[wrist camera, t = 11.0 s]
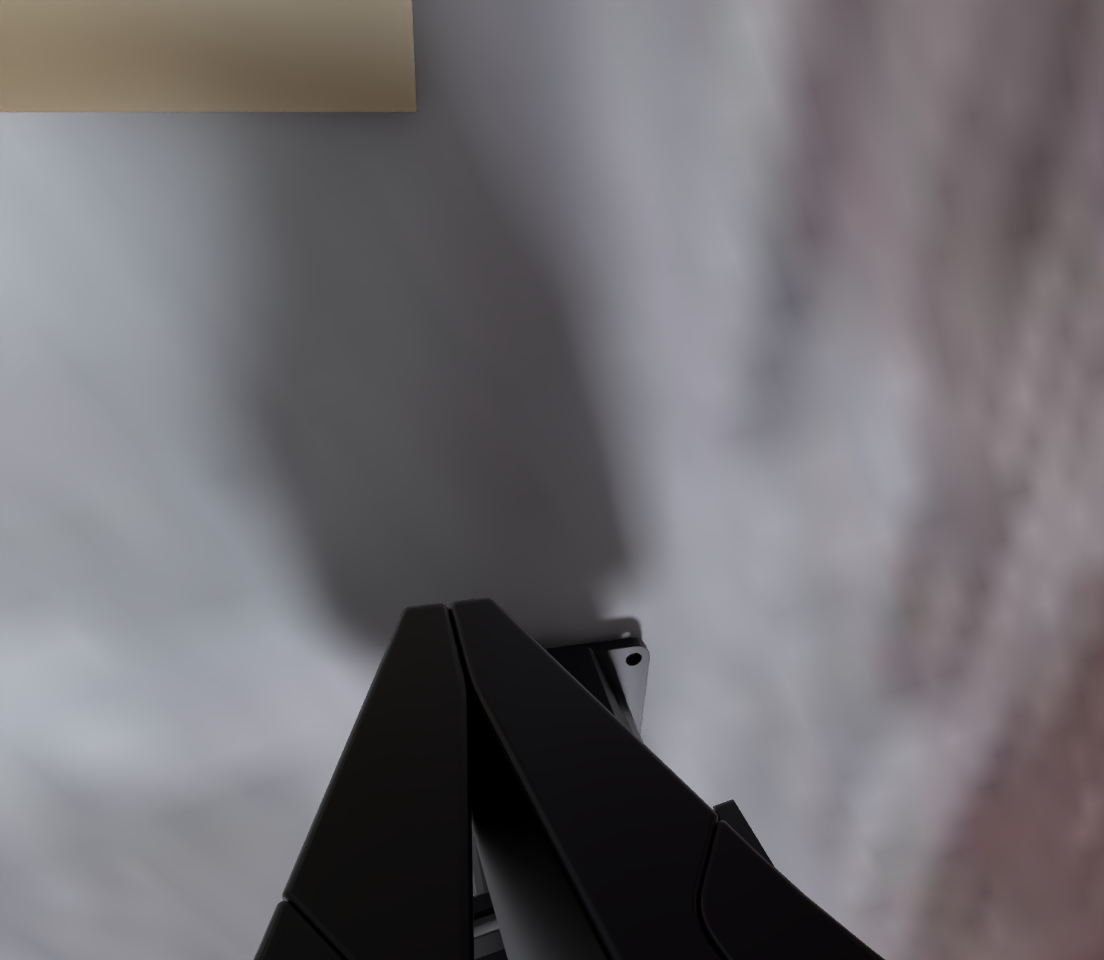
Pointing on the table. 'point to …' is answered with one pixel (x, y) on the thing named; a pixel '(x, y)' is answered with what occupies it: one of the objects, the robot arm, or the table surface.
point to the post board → (207, 56)
